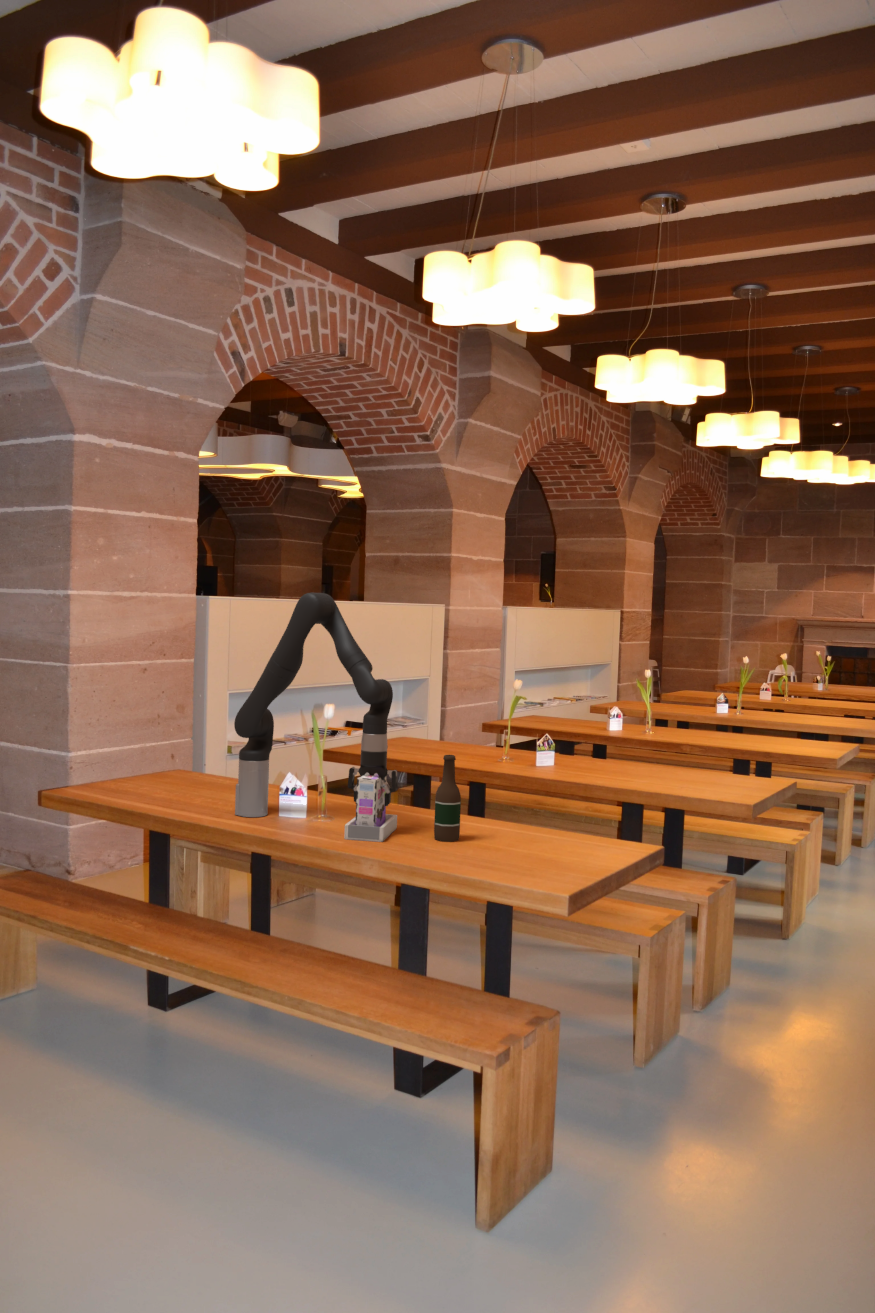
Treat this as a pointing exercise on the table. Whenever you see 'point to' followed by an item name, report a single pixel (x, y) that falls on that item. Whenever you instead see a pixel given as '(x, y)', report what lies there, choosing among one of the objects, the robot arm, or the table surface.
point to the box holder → (370, 830)
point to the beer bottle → (447, 804)
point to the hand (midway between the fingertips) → (372, 804)
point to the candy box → (370, 801)
